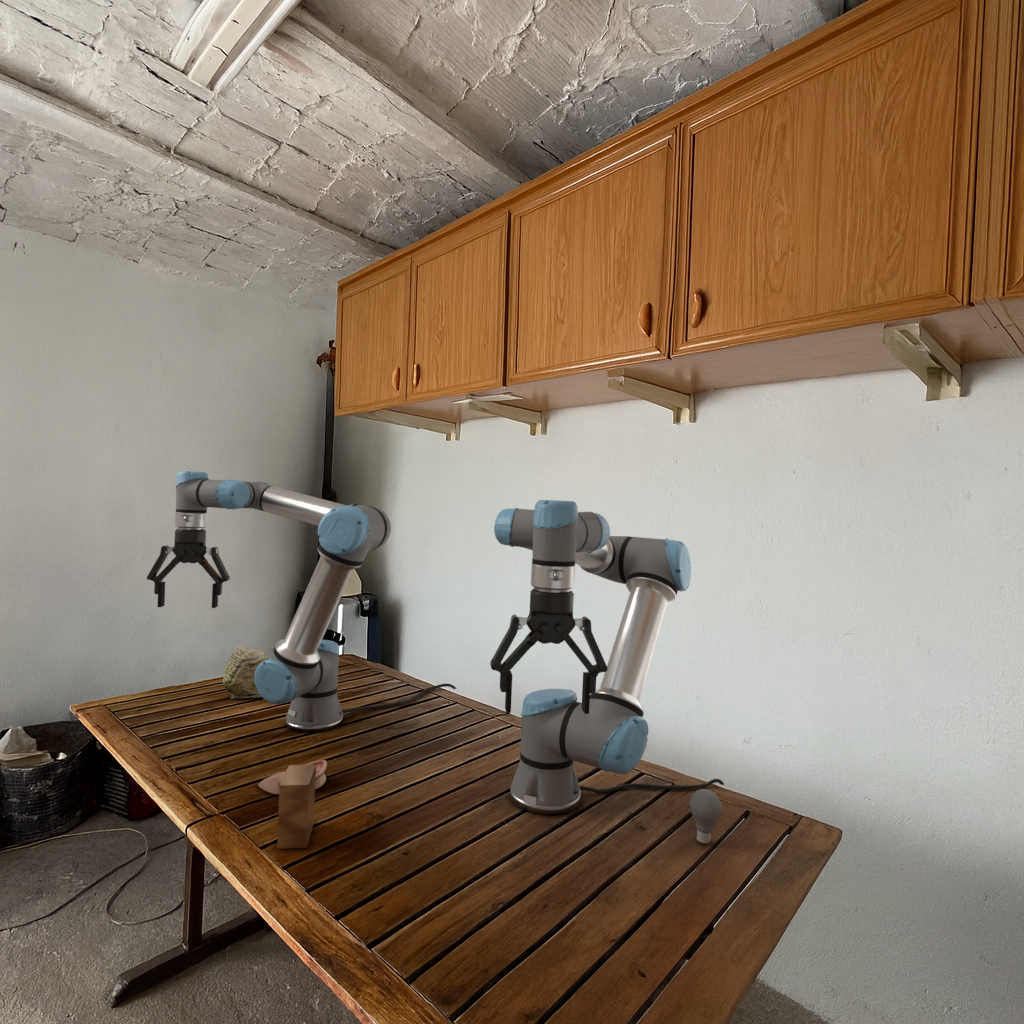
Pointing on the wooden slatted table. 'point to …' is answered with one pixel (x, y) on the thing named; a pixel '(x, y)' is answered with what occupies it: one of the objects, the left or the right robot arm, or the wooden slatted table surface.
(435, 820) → the wooden slatted table surface
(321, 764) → the anatomical model
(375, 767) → the wooden slatted table surface
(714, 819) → the light bulb
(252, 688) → the fossil
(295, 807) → the brick
